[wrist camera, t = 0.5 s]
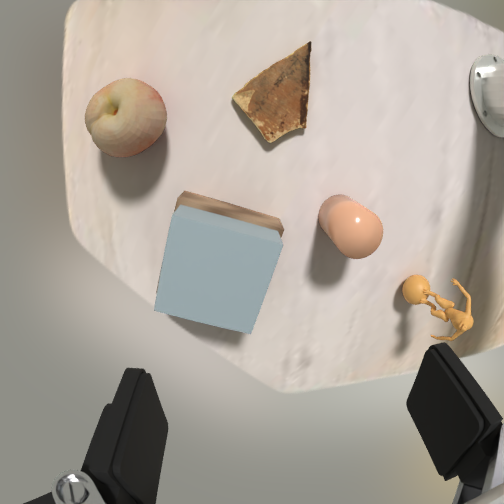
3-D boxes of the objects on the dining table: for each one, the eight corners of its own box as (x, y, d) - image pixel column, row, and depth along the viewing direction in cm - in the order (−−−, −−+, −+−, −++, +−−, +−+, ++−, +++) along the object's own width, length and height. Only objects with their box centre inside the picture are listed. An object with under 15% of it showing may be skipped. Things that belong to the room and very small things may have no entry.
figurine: (405, 254, 37) (456, 298, 26) (439, 256, 38) (490, 297, 26) (390, 308, 40) (429, 362, 29) (423, 308, 41) (464, 356, 29)
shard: (307, 44, 28) (311, 40, 26) (348, 97, 30) (354, 95, 29) (229, 96, 30) (228, 94, 29) (273, 150, 33) (274, 151, 31)
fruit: (156, 71, 28) (132, 55, 21) (184, 133, 31) (167, 132, 24) (96, 106, 29) (60, 103, 22) (122, 166, 32) (92, 176, 24)
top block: (277, 230, 31) (283, 244, 27) (249, 313, 35) (250, 334, 31) (180, 204, 30) (172, 214, 26) (162, 291, 33) (154, 310, 29)
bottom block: (278, 217, 35) (284, 229, 31) (249, 298, 39) (250, 318, 35) (185, 190, 34) (177, 198, 29) (164, 275, 37) (156, 293, 33)
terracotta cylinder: (364, 203, 35) (390, 219, 28) (349, 241, 36) (370, 264, 30) (327, 188, 34) (347, 202, 27) (312, 228, 36) (327, 250, 29)
